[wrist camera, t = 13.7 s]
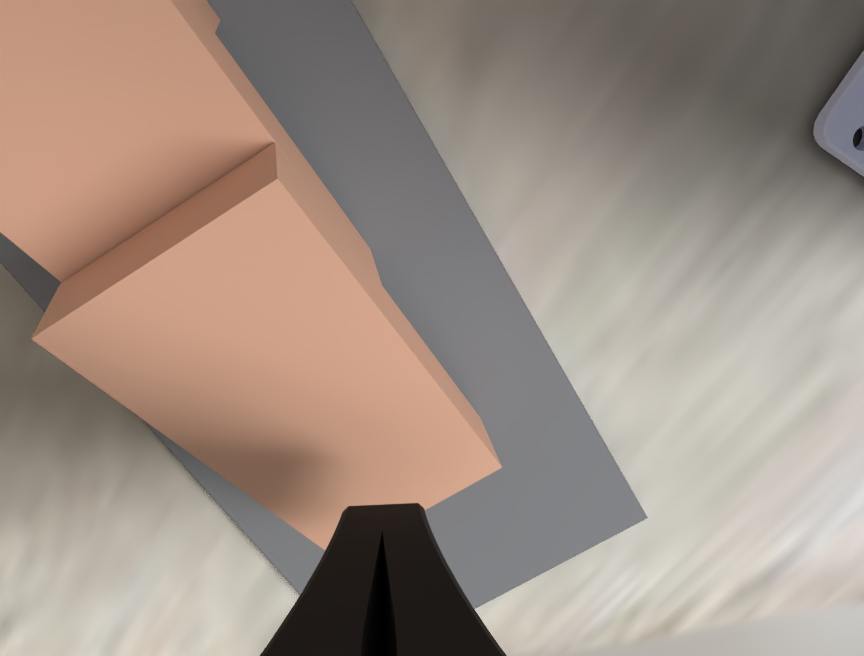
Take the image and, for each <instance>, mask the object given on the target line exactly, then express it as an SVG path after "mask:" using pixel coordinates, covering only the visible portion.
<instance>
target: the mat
mask: <svg viewBox="0 0 864 656" xmlns="http://www.w3.org/2000/svg"><path fill="white" fill-rule="evenodd" d="M207 2H208V3H209V5H210V6H211V7H212V9H213V10H214V12H215V13H216V15H217V16H218V17H219V19H220V23H219V25H218V27H217V29H216V32H215V34H216V35H217V37H218V38H219V39H220V41H221V42H222V44H223V45H224V46H225V48H226V49H227V50H228V52H229V53H230V55H231V56H232V57H233V59H234V60H235V62H236V63H237V64H238V66H239V67H240V69H241V70H242V71H243V73H244V74H245V75H246V77H247V78H248V80H249V81H250V82H251V84H252V85H253V87H254V88H255V89H256V91H257V92H258V94H259V95H260V96H261V98H262V99H263V100H264V102H265V103H266V105H267V106H268V107H269V109H270V110H271V112H272V113H273V114H274V116H275V117H276V119H277V120H278V121H279V123H280V124H281V125H282V127H283V128H284V130H285V131H286V132H287V134H288V135H289V137H290V138H291V139H292V141H293V142H294V144H295V145H296V146H297V148H298V149H299V150H300V152H301V153H302V155H303V156H304V157H305V159H306V160H307V162H308V163H309V164H310V166H311V167H312V169H313V170H314V171H315V173H316V174H317V175H318V177H319V178H320V180H321V181H322V182H323V184H324V185H325V187H326V188H327V189H328V191H329V192H330V194H331V195H332V196H333V198H334V199H335V200H336V202H337V203H338V205H339V206H340V207H341V209H342V210H343V212H344V213H345V214H346V216H347V217H348V219H349V220H350V221H351V223H352V224H353V225H354V227H355V228H356V230H357V231H358V232H359V234H360V235H361V237H362V238H363V239H364V241H365V242H366V244H367V245H368V246H369V248H370V249H371V252H372V255H373V259H374V262H375V265H376V268H377V271H378V274H379V277H380V281H381V284H382V286H383V288H384V289H385V290H386V292H387V293H388V294H389V296H390V297H391V298H392V300H393V301H394V302H395V304H396V305H397V306H398V308H399V309H400V310H401V312H402V313H403V314H404V316H405V317H406V318H407V320H408V321H409V322H410V324H411V325H412V326H413V328H414V329H415V330H416V332H417V333H418V335H419V336H420V337H421V339H422V340H423V341H424V343H425V344H426V345H427V347H428V348H429V349H430V351H431V352H432V353H433V355H434V356H435V357H436V359H437V360H438V361H439V363H440V364H441V365H442V367H443V368H444V369H445V371H446V372H447V373H448V375H449V376H450V377H451V379H452V380H453V382H454V383H455V384H456V386H457V387H458V388H459V390H460V391H461V392H462V394H463V395H464V396H465V398H466V399H467V400H468V402H469V403H470V404H471V406H472V407H473V408H474V410H475V411H476V412H477V414H478V415H479V416H480V418H481V420H482V422H483V425H484V427H485V429H486V432H487V434H488V436H489V438H490V441H491V443H492V445H493V448H494V450H495V452H496V454H497V457H498V459H499V461H500V464H501V466H502V468H500V469H499V470H497V471H495V472H493V473H491V474H490V475H488V476H486V477H484V478H482V479H481V480H479V481H477V482H475V483H473V484H471V485H470V486H468V487H466V488H464V489H462V490H461V491H459V492H457V493H455V494H453V495H452V496H450V497H448V498H446V499H444V500H443V501H441V502H439V503H437V504H435V505H434V506H432V507H430V508H428V509H426V510H425V514H426V517H427V520H428V523H429V525H430V528H431V530H432V533H433V535H434V537H435V540H436V542H437V544H438V546H439V548H440V550H441V552H442V554H443V556H444V558H445V560H446V562H447V564H448V566H449V568H450V569H451V571H452V573H453V575H454V576H455V578H456V580H457V582H458V583H459V585H460V587H461V589H462V590H463V592H464V594H465V595H466V597H467V599H468V600H469V602H470V603H471V605H472V607H473V608H474V609H475V608H477V607H479V606H481V605H483V604H485V603H487V602H489V601H491V600H493V599H494V598H496V597H498V596H500V595H502V594H504V593H506V592H508V591H510V590H512V589H513V588H515V587H517V586H519V585H521V584H523V583H525V582H527V581H529V580H531V579H532V578H534V577H536V576H538V575H540V574H542V573H544V572H546V571H548V570H550V569H551V568H553V567H555V566H557V565H559V564H561V563H563V562H565V561H567V560H569V559H570V558H572V557H574V556H576V555H578V554H580V553H582V552H584V551H586V550H588V549H590V548H591V547H593V546H595V545H597V544H599V543H601V542H603V541H605V540H607V539H609V538H610V537H612V536H614V535H616V534H618V533H620V532H622V531H624V530H626V529H628V528H629V527H631V526H633V525H635V524H637V523H639V522H641V521H643V520H645V519H647V516H646V514H645V512H644V511H643V509H642V507H641V505H640V504H639V502H638V500H637V498H636V497H635V495H634V493H633V491H632V490H631V488H630V486H629V484H628V483H627V481H626V479H625V477H624V476H623V474H622V472H621V470H620V469H619V467H618V465H617V463H616V462H615V460H614V458H613V456H612V455H611V453H610V451H609V450H608V448H607V446H606V444H605V443H604V441H603V439H602V437H601V436H600V434H599V432H598V430H597V429H596V427H595V425H594V423H593V422H592V420H591V418H590V416H589V415H588V413H587V411H586V409H585V408H584V406H583V404H582V402H581V401H580V399H579V397H578V395H577V394H576V392H575V390H574V388H573V387H572V385H571V383H570V381H569V380H568V378H567V376H566V374H565V373H564V371H563V369H562V367H561V366H560V364H559V362H558V360H557V359H556V357H555V355H554V354H553V352H552V350H551V348H550V347H549V345H548V343H547V341H546V340H545V338H544V336H543V334H542V333H541V331H540V329H539V327H538V326H537V324H536V322H535V320H534V319H533V317H532V315H531V313H530V312H529V310H528V308H527V306H526V305H525V303H524V301H523V299H522V298H521V296H520V294H519V292H518V291H517V289H516V287H515V285H514V284H513V282H512V280H511V278H510V277H509V275H508V273H507V271H506V270H505V268H504V266H503V264H502V263H501V261H500V259H499V257H498V256H497V254H496V252H495V251H494V249H493V247H492V245H491V244H490V242H489V240H488V238H487V237H486V235H485V233H484V231H483V230H482V228H481V226H480V224H479V223H478V221H477V219H476V217H475V216H474V214H473V212H472V210H471V209H470V207H469V205H468V203H467V202H466V200H465V198H464V196H463V195H462V193H461V191H460V189H459V188H458V186H457V184H456V182H455V181H454V179H453V177H452V175H451V174H450V172H449V170H448V168H447V167H446V165H445V163H444V161H443V160H442V158H441V156H440V154H439V153H438V151H437V149H436V148H435V146H434V144H433V142H432V141H431V139H430V137H429V135H428V134H427V132H426V130H425V128H424V127H423V125H422V123H421V121H420V120H419V118H418V116H417V114H416V113H415V111H414V109H413V107H412V106H411V104H410V102H409V100H408V99H407V97H406V95H405V93H404V92H403V90H402V88H401V86H400V85H399V83H398V81H397V79H396V78H395V76H394V74H393V72H392V71H391V69H390V67H389V65H388V64H387V62H386V60H385V58H384V57H383V55H382V53H381V52H380V50H379V48H378V46H377V45H376V43H375V41H374V39H373V38H372V36H371V34H370V32H369V31H368V29H367V27H366V25H365V24H364V22H363V20H362V18H361V17H360V15H359V13H358V11H357V10H356V8H355V6H354V4H353V3H352V1H351V0H207ZM0 263H1V264H2V265H3V266H4V267H5V268H6V269H7V270H8V271H9V272H10V274H11V275H12V276H13V277H14V278H15V279H16V280H17V281H18V282H19V284H20V285H21V286H22V287H23V288H24V289H25V290H26V291H27V292H28V294H29V295H30V296H31V297H32V298H33V299H34V300H35V301H36V302H37V304H38V305H39V306H40V307H41V308H42V309H43V310H44V311H46V310H47V308H48V306H49V304H50V302H51V300H52V298H53V296H54V295H55V293H56V291H57V289H58V287H59V285H60V283H61V282H60V281H59V280H58V279H57V278H55V277H54V276H53V275H52V274H51V273H49V272H48V271H47V270H46V269H45V268H43V267H42V266H41V265H40V264H38V263H37V262H36V261H35V260H34V259H32V258H31V257H30V256H29V255H28V254H26V253H25V252H24V251H23V250H22V249H20V248H19V247H18V246H17V245H16V244H14V243H13V242H12V241H11V240H9V239H8V238H7V237H6V236H5V235H3V234H2V233H1V232H0ZM141 419H142V418H141ZM142 420H143V419H142ZM143 421H144V420H143ZM144 422H145V423H146V424H147V425H148V427H149V428H150V429H151V430H152V431H153V432H154V433H155V434H156V435H157V437H158V438H159V439H160V440H161V441H162V442H163V443H164V444H165V445H166V447H167V448H168V449H169V450H170V451H171V452H172V453H173V454H174V455H175V456H176V458H177V459H178V460H179V461H180V462H181V463H182V464H183V465H184V466H185V468H186V469H187V470H188V471H189V472H190V473H191V474H192V475H193V476H194V478H195V479H196V480H197V481H198V482H199V483H200V484H201V485H202V486H203V488H204V489H205V490H206V491H207V492H208V493H209V494H210V495H211V496H212V497H213V499H214V500H215V501H216V502H217V503H218V504H219V505H220V506H221V507H222V509H223V510H224V511H225V512H226V513H227V514H228V515H229V516H230V517H231V519H232V520H233V521H234V522H235V523H236V524H237V525H238V526H239V527H240V529H241V530H242V531H243V532H244V533H245V534H246V535H247V536H248V537H249V539H250V540H251V541H252V542H253V543H254V544H255V545H256V546H257V547H258V548H259V550H260V551H261V552H262V553H263V554H264V555H265V556H266V557H267V558H268V560H269V561H270V562H271V563H272V564H273V565H274V566H275V567H276V568H277V570H278V571H279V572H280V573H281V574H282V575H283V576H284V577H285V578H286V580H287V581H288V582H289V583H290V584H291V585H292V586H293V587H294V588H295V589H296V591H297V592H298V593H299V594H300V595H301V593H302V592H303V590H304V588H305V586H306V585H307V583H308V581H309V579H310V578H311V576H312V574H313V572H314V571H315V569H316V567H317V565H318V564H319V562H320V560H321V558H322V556H323V554H324V552H325V550H324V549H322V548H321V547H320V546H318V545H317V544H315V543H314V542H313V541H311V540H310V539H308V538H307V537H306V536H304V535H303V534H301V533H300V532H299V531H297V530H296V529H294V528H293V527H292V526H290V525H289V524H288V523H286V522H285V521H283V520H282V519H281V518H279V517H278V516H276V515H275V514H274V513H272V512H271V511H269V510H268V509H267V508H265V507H264V506H263V505H261V504H260V503H258V502H257V501H256V500H254V499H253V498H251V497H250V496H249V495H247V494H246V493H244V492H243V491H242V490H240V489H239V488H238V487H236V486H235V485H233V484H232V483H231V482H229V481H228V480H226V479H225V478H224V477H222V476H221V475H219V474H218V473H217V472H215V471H214V470H212V469H211V468H210V467H208V466H207V465H206V464H204V463H203V462H201V461H200V460H199V459H197V458H196V457H194V456H193V455H192V454H190V453H189V452H187V451H186V450H185V449H183V448H182V447H181V446H179V445H178V444H176V443H175V442H174V441H172V440H171V439H169V438H168V437H167V436H165V435H164V434H162V433H161V432H160V431H158V430H157V429H155V428H154V427H153V426H151V425H150V424H149V423H147V422H146V421H144Z"/></svg>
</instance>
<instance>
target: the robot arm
mask: <svg viewBox="0 0 864 656" xmlns="http://www.w3.org/2000/svg"><path fill="white" fill-rule="evenodd" d="M859 128H861V130H862V139H861V142H860V144H859V145H858V146H856V147H854V145H853V137H854V134H855V132H856V131H857V130H858V129H859ZM813 133H814V137H815V141H816V142H817V143H818V144H819V146H820V147H821V148H823V149H824V150H826V151H827V152H829V153H830V154H831V155H833V156H834V157H836V158H837V159H839V160H840V161H842V162H843V163H844V164H846V165H847V166H849V167H850V168H852V169H853V170H855V171H856V172H857V173H859V174H860V175H862V176H863V177H864V50H863V52H862V53H861V55H860V56H859V57H858V59H857V60H856V62H855V63H854V65H853V66H852V67H851V69H850V70H849V72H848V73H847V75H846V76H845V77H844V79H843V80H842V82H841V83H840V85H839V86H838V87H837V89H836V90H835V92H834V93H833V95H832V96H831V97H830V99H829V100H828V102H827V103H826V105H825V106H824V107H823V109H822V110H821V112H820V113H819V115H818V117H817V119H816V121H815V123H814V131H813ZM260 656H506V654H505V653H504V652H503V650H502V649H501V648H500V646H499V645H498V643H497V642H496V641H495V639H494V638H493V636H492V635H491V634H490V632H489V631H488V629H487V628H486V626H485V625H484V623H483V622H482V620H481V619H480V617H479V616H478V614H477V613H476V611H475V610H474V608H473V607H472V605H471V603H470V602H469V600H468V599H467V597H466V595H465V594H464V592H463V590H462V589H461V587H460V585H459V583H458V582H457V580H456V578H455V576H454V575H453V573H452V571H451V569H450V568H449V566H448V564H447V562H446V560H445V558H444V556H443V554H442V552H441V550H440V548H439V546H438V544H437V542H436V540H435V537H434V535H433V533H432V530H431V528H430V525H429V523H428V520H427V517H426V514H425V510H424V508H423V507H422V506H421V505H420V504H419V503H404V504H383V505H361V506H348V507H347V508H346V509H345V510H344V511H343V512H342V514H341V517H340V520H339V523H338V525H337V527H336V530H335V532H334V534H333V536H332V538H331V540H330V542H329V544H328V546H327V548H326V550H325V552H324V554H323V556H322V558H321V560H320V562H319V564H318V565H317V567H316V569H315V571H314V572H313V574H312V576H311V578H310V579H309V581H308V583H307V585H306V586H305V588H304V590H303V592H302V593H301V595H300V597H299V598H298V600H297V601H296V603H295V604H294V606H293V608H292V609H291V611H290V612H289V614H288V615H287V617H286V618H285V620H284V621H283V623H282V624H281V626H280V627H279V629H278V630H277V632H276V633H275V635H274V636H273V638H272V639H271V641H270V642H269V644H268V645H267V646H266V648H265V649H264V651H263V652H262V653H261V655H260Z"/></svg>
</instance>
